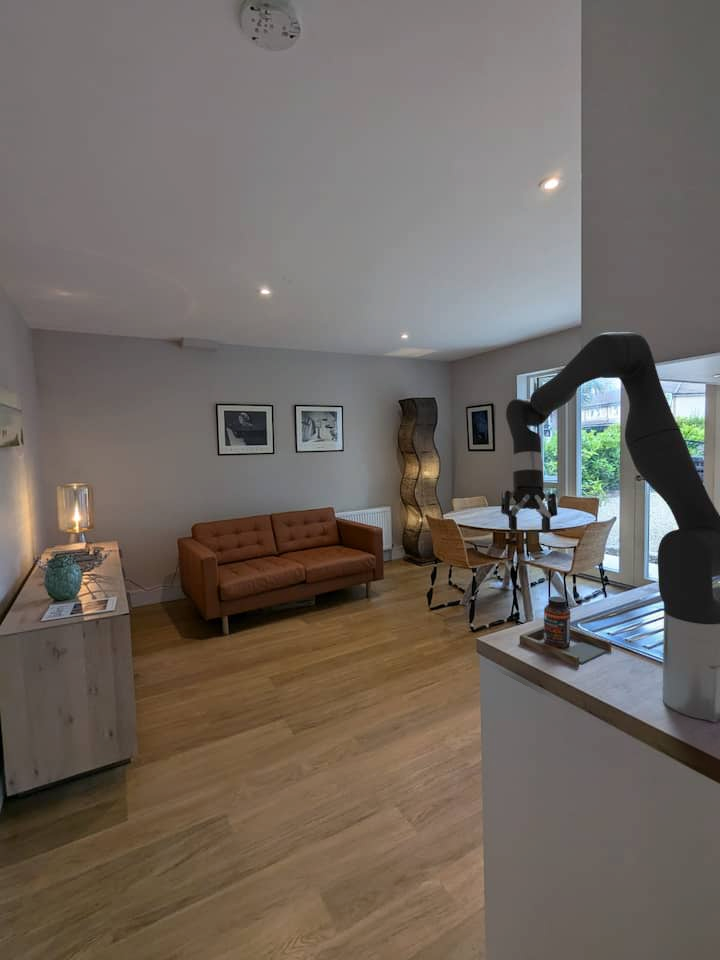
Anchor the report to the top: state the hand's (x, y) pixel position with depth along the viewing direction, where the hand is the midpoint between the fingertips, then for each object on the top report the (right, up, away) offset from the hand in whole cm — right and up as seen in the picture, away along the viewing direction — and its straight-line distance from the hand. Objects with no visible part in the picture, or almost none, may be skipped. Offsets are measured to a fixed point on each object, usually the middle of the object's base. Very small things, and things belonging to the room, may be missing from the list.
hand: (529, 531), depth 119 cm
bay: (+5, -27, -9) cm, 29 cm away
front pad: (+8, -27, -12) cm, 31 cm away
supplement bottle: (+4, -27, -7) cm, 28 cm away
